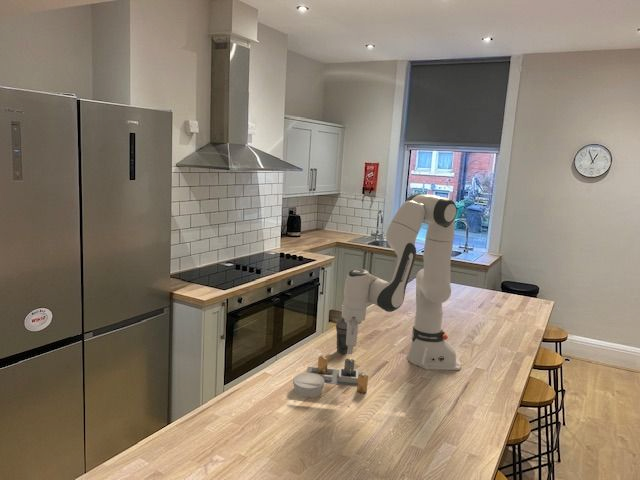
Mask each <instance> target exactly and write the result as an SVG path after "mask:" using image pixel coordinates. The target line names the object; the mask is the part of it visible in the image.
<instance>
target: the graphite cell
mask: <svg viewBox="0 0 640 480" xmlns="http://www.w3.org/2000/svg"><path fill="white" fill-rule="evenodd" d="M343 368H344V376H349V377H353V373H354V369H355V360H354V359H353V358H345V359H344V367H343Z"/></svg>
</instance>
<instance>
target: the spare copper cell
mask: <svg viewBox="0 0 640 480" xmlns="http://www.w3.org/2000/svg"><path fill="white" fill-rule="evenodd" d="M328 363H329V357H327V356H325V355H319V356H318V362H317V367H318V371H317V374H322V375H327V368H328Z"/></svg>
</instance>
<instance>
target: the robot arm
mask: <svg viewBox="0 0 640 480" xmlns="http://www.w3.org/2000/svg"><path fill="white" fill-rule="evenodd" d="M457 208H458V207H457V205H456V202H455V201H454V200H452V199H450V198H448V197H442V196H439V195H435V194H422V193H413V194H411V195H410V196H408V197H407V199H406V200H405V201H404V202H403V203H401V206H400V207H399V208H398V209H397V211H396V213H395V214H394V216H393V218H392V220H391V222H390V223H389V225H388V228H387V231H386V235H385V237H386V241H387V244H388V246H389V247H390V248H391V249H392V250H393V252H395V254H396V256H397V262H396V265H395V269H394V272H393V275H392V278H391V280H390V281H387V280H384V279H382V278H380V277H378V276H374V275H373V274H371V273H370V271H368V270H366V269H363V268H355V269H352V270H350V271H349V272H348V273H347V276H346V279H345V284H344V291H343V294H344V299H343V302H342V308H341V318H344V319H345V320H344V321H345V322H346V323H347V334H346V345H347V346H348V350H347V355H352V354H353V350H354V348H355V347H356V346H357V342H358V335H359V333H358V331H359V325H361V324H362V322H364V321H365V320H366V316H367V309H368V305H367V304H368V303H371V304H373V305H374V306H377V307H378V308H380V309H382V310H383V311H385V312H388V313H392V312H394V311H397V310H398V309H400V307H402V305H403V303H404V300H405V296H406V294H405V293H406V289H407V286H408V282H409V279H410V277H411V273H412V270H413V267H414V263H415V261H416V255H417V247H416V246H415V245H416V240H417V236H418V234H419V233H420V230H421V228H422V225H423V223H426V224H427V230H426V234H425V241H424V246H423V255H422V260H423V268H421V269H420V270H419V271H418V272H417V273H416V276H415V317H414V324H413V327H412V330H411V331H412V332H411V343H410V347H409V350H408V353H407V355H406V360H408V362H409V363H410V364H411V363H412V364H413V365H416V366H419V367H420V368H422V369H423V370H426V371H430V370H432V371H433V370H435V371H459V370H460V369H461V368H462V362H461V361H460V359H459V358H458V357H457V353H456V350H455V348H454V346H452V344H451V343H449V342H448V338H449V336H448V334H447V333H446V331H444V330H443V329H442V323H443V314H444V311H443V303H445V302H447V301H448V300H449V299H450V297H451V296H452V288H451V287H452V286H451V261H452V260H451V259H452V251H453V245H454V240H455V239H454V238H455V219H456V217H457V214H458V209H457Z"/></svg>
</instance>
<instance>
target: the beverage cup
mask: <svg viewBox="0 0 640 480" xmlns="http://www.w3.org/2000/svg"><path fill="white" fill-rule="evenodd" d="M344 320H345V319H344V318H342V317H340V318H339V319H338V320H337V321H336V324H335V328H336V329H335V331H336V353H337V354H339V353H340V355H346V354H347V350H348V346H347V345H346V334H347V323H346V322H345V321H344ZM347 355H348V354H347Z"/></svg>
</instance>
